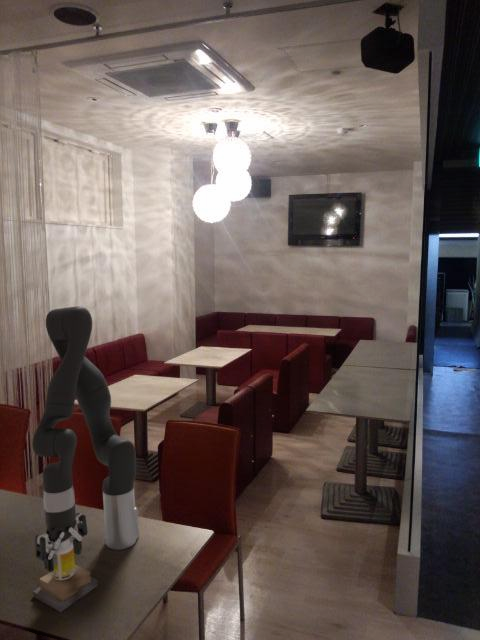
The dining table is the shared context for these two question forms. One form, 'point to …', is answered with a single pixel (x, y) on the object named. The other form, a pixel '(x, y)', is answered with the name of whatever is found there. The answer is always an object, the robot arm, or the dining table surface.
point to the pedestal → (64, 589)
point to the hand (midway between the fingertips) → (64, 561)
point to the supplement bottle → (64, 561)
